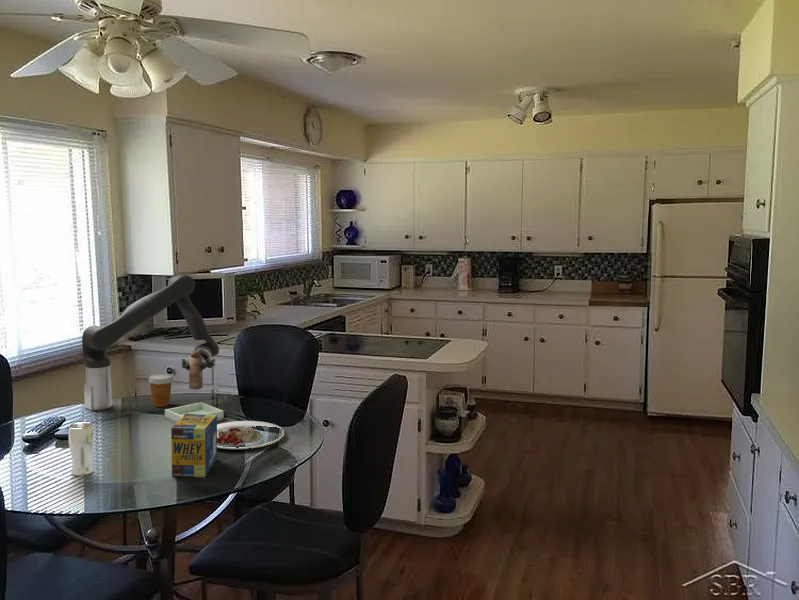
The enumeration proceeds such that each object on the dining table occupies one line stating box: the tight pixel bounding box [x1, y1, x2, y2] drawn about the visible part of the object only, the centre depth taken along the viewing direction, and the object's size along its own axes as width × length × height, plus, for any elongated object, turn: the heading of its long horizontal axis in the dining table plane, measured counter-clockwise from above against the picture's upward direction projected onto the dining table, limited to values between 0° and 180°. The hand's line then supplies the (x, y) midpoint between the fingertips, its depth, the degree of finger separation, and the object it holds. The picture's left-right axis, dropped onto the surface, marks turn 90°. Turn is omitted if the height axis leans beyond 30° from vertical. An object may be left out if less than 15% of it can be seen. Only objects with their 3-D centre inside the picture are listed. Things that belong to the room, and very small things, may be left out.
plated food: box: [217, 420, 285, 450], centre depth 245 cm, size 30×30×3 cm
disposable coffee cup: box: [148, 373, 174, 408], centre depth 282 cm, size 10×10×12 cm
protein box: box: [170, 414, 218, 478], centre depth 215 cm, size 10×15×16 cm
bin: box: [164, 401, 224, 424], centre depth 265 cm, size 16×16×4 cm
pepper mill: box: [188, 350, 204, 390], centre depth 277 cm, size 5×5×15 cm
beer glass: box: [68, 421, 95, 477], centre depth 209 cm, size 7×7×15 cm
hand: (194, 367), depth 274 cm, fingers closed on pepper mill, 5 cm apart
